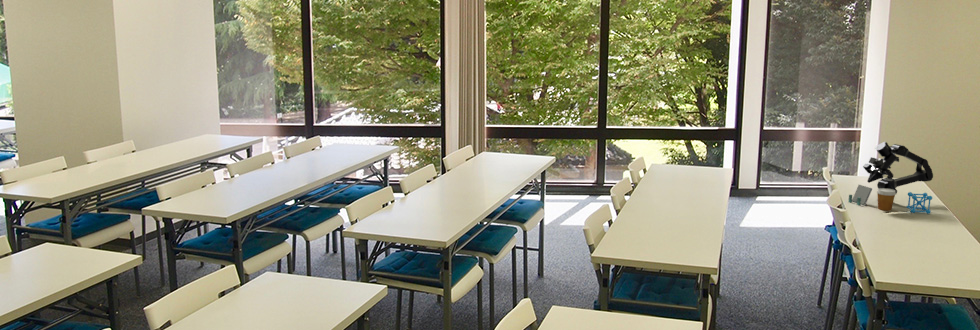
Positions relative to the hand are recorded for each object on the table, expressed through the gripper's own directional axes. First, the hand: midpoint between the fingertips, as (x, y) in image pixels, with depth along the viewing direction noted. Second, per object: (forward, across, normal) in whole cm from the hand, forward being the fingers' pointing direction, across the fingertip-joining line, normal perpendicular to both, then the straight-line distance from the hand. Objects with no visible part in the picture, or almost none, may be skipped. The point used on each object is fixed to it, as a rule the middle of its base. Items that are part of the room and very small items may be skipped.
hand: (868, 182), depth 438 cm
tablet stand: (+12, 0, +7) cm, 14 cm away
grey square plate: (+12, 0, +5) cm, 13 cm away
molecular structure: (-2, +20, +22) cm, 30 cm away
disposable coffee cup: (+10, +15, +9) cm, 20 cm away
